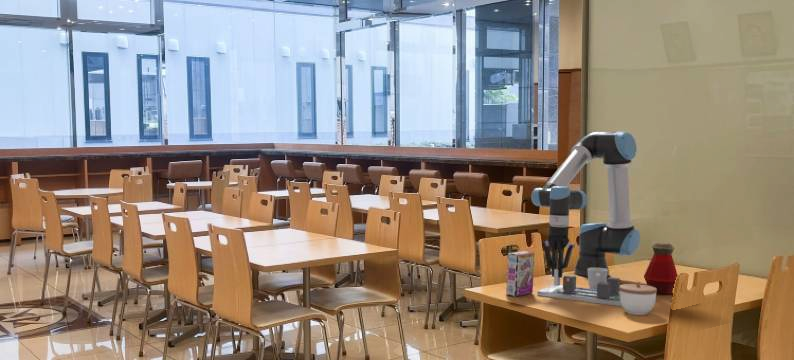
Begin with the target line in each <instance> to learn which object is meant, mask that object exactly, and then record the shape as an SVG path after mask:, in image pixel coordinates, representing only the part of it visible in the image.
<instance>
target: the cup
mask: <svg viewBox="0 0 794 360" xmlns="http://www.w3.org/2000/svg"><path fill="white" fill-rule="evenodd" d="M607 273H608V270H607V269H604V268H588V276H587V280H588V281H587V283H588V287H589V289H597V284H598V283H599V282H607V279H608V276H607Z"/></svg>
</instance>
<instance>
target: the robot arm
mask: <svg viewBox="0 0 794 360" xmlns="http://www.w3.org/2000/svg"><path fill="white" fill-rule="evenodd" d="M636 154H637V143H636V139H635V137H634V136H633V135H632V134H631V133H630V132H627V131H617V130H616V131H594V132H591V133H589V134H586V135H584V137H582V138H580V139H579V140H578V141H577V142H576V143H575V144H574V145H572V147H571V150H570V154H569V155H568V156H567V158H565V160H564V161H563V162H562V163H561V165H560V166H559V167H558V168H557V170H556V171H555V172H554V174H552V176H551V177H550V178H549V180H547V182H546V183H545V184H544V185H543V186H542V188H541V187H536V188H534V189H533V190H532V191H531V192H532V193H531V195H530V196H531V198H530V199H531V202H532V204H533V205H534V206H536V207H541V208H549V218H548V219H549V221H548V223H549V227H548V237H547V240H545V241H542V243H541V246H542V247H543V251H544V253H545V259H546V265H547V267H548V268H551V276H552V277H553V284H554V286H559V285H561V278H563V273H564V272H563V270H564V269H566V268H568V267H569V264H570V263H569V262H570V261H571V259H570V258H571V255H572V252H573V250H574V248H575V244H574V243H573V244H572V243H571V242H570V238H569V224H570V222H569V221H570V211H571V210H572V211H573V210H580V209H583V208H585V207H586V206H587V204H588V203H587V202H588V197H587V194H586V192H584V191H582V190H577V189H574V190H572V189H570V187H568V186H569V185H570V184H571V182H572V181H573V179H574V178H575V177H577V175H578V173H579V172H580V171H581V170H582V168H584V166H585V164H586V165H587V164H589V163H590V162H591V161H592V160H595V159H602V161H603V165H604V166H605V167H606V169H607V170H606V172H607V173H606V174H607V189H608V190H607V191H608V211H609V221H608V222H607V223H606V222H593V223H584V224H583V223H582V224H581V225H580V227H579V234H578V235H579V240H578V242H579V243H578V251H579V252H578V257H577V260H576V263H575V266H574V268H573V269H574V270H573V271H574V272H573V273H574V274H575V275H578V276H581V277H588V268H604V269H607V270H608V273H607V277H608V276H609V275H610V269H609V266H608V262H607V259H606V257H607V256H606V255H607V254H611V255H612V254H613V255H619V256H633V255H634V254H635V253H636V252H637V250H638V248H639V246H640V241H641V233H640V231H639V230H638V229H636V228H635V223H634V222H633V221H632V220H631V212H630V211H631V207H630V189H629V188H630V186H629V184H630V182H629V166H630V165H631V163H632V160H633V159H635V157H636ZM550 247H551V248H550ZM566 247H567V249H566ZM565 249H566V252H565ZM551 252H552V253H551ZM565 253H566V254H565ZM564 254H565V256H564Z"/></svg>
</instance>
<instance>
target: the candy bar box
mask: <svg viewBox="0 0 794 360" xmlns="http://www.w3.org/2000/svg"><path fill="white" fill-rule="evenodd" d="M534 267H535V252H531V251H527V250H526V251H525V250H523V251H516V252H515V251H514V252H508V253H507V268H506V269H507V270H506V271H507V272H506V289H505V290H506V291H505V292H506V294H505V295H506V296H508V297H514V298H517V297H522V296H526V295H532V294H533V289H534V269H535V268H534Z"/></svg>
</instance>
